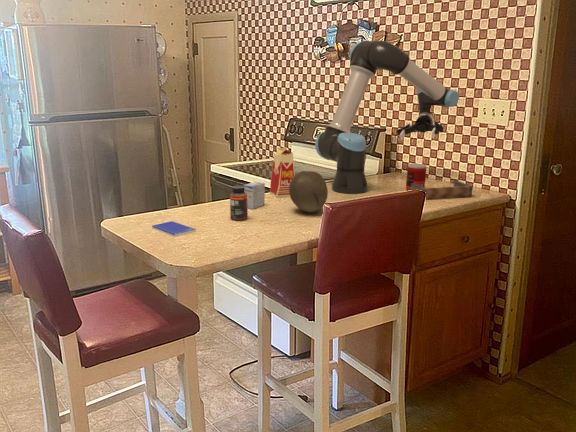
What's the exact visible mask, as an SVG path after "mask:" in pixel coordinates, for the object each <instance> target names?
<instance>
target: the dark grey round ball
mask: <svg viewBox="0 0 576 432" xmlns="http://www.w3.org/2000/svg"><path fill="white" fill-rule="evenodd" d="M328 190H329V188H328V185H327V182H326V180H325V178H323V176H322V175H321V174H320V173H318V172H317V171H308V170H302V171H299V172H297V173H296V174H295V176H294V177H293V178H292V180H291V182H290V185H289V193H290V197H289V198H290V199H291V201H292V203H293V204H294V205H295V206H296V207H297V209H299V210H301V211H303V212H306V213H309V214H314V213H316V212H318V211H320V210H322V209H323V207H324V206H325V205H324V203H325V204H326V203H327V199H328V195H329V194H328V193H329V192H328ZM323 205H324V206H323Z"/></svg>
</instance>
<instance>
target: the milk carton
mask: <svg viewBox="0 0 576 432" xmlns="http://www.w3.org/2000/svg"><path fill="white" fill-rule="evenodd" d="M287 148H288V146H284V147H278V151H276V153H275V154H274V155H273V162H272V166H271V167H272V168H271V177H270V186H269V187H270V188H269V194H270V195H273V196H274V197H275V198H291V197H290V193H289V185H290V182H291V180H292V178H293V177H294V176H295V175H296V174H295V173H296V172H295V163H294V152H292V151H290V150H288V149H287Z"/></svg>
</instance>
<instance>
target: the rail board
mask: <svg viewBox="0 0 576 432" xmlns="http://www.w3.org/2000/svg"><path fill="white" fill-rule="evenodd" d="M414 189H418V190H422V191H424V192H426V200H425V201H429V200H431V201H432V200H445V199H446V200H447V199H463V198H472V196H473V186H472V185H469V184H467V183H464V182H461V181H460V180H454V183H453V186H444V187H443V186H441V187H426V186H425V187H422V186H420V185H418V184H415V183H411V190H414Z"/></svg>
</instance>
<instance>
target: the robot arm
mask: <svg viewBox="0 0 576 432" xmlns="http://www.w3.org/2000/svg"><path fill="white" fill-rule="evenodd" d="M348 58H349V62H350V65H349V70H350V74H349V76H348V80H347V82H346V85H345V87H344V90H343V93H342V94H341V98H340V99H339V102H338V105H337V108H336V110H335V112H334V115H333V118H332V120H331V123H330V124H327V125H326V126H325V129H324V131H322V132H321V133H319V134H317V135H318V136H316V139H315V141H314V146H315V150H316V152H317V154H318V155H319V156H320V157H321V158H323V159H325V160H327V161H332V162H336V171H335V175H334V178H333V181H332V183H331V190H332V191H334V192H337V193H340V194H341V193H342V194H362V193H363V194H364V193H366V192H368V186H369V185H368V181H367V178H366V174H365V167H366V166H365V165H366V151H367V150H366V149H367V140H366V138H365V137H364V135H362V134H358V133H353V132H351V129H352V125H353V124H354V123H353V122H354V120H355V119H356V115H357V113H358V110H359V107H360V104H361V102H362V100H363V98H364V94H365V92H366V90H367V87H368V85H369V82H370V80H371V79H372V78H374V77H375V76H376V74H377V71H378V70H384V71H388V72H390V73H392V74H393V75H395V76H397V75H399V76H400V77H401V78H403V79H404V80H405V81H406V82H408V83H410V84H411V85H413V87H415V88H416V93H417V94H416V95H417V104H418V113H419V114H418V116H417V118H416V120H415V121H414V124H412V125H411V124H410V123H408V124H406V125H405V126H402V127H400V128H398V129H396V135H397V136H399V138H400V141H403V140H404V139H405V137H406V135H408V134H411V133H417V132H418V133H419V132H420V133H427V132H431V138H432V139H435V136H436V135H438V134H439V133H443V132H444V126H442V125H441V124H440V123H439V122H438V121H434V116H433V114H432V113H431V112H430V108H431V105H435V107H436V106H437V107H444V108H454V107H456V106H457V104H458V103H459V101H460V94H459V92H458V91H457V90H454V89H449V88H448V87H446V86H445V85H443V84H442V83H441V82H440V81H438V80H437V79H436V78H435V77H433V76H432V75H430V74H429V73H428V72H427V71H425V70H424V69H423V68H421V67H420V66H419V65H417V64H416V63H415V62H414V61H412V60H411V59H410V56H409V54H408V53H406V52H405V51H404V50H402V49H401V48H399V47H398V46H396V45H395V44H393V43H391V42H390V41H386V40H362V41H358V42H356V43H355V44H354V45H353V46H352V47H351V48H350V51H349V57H348ZM458 100H459V101H458Z"/></svg>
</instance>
